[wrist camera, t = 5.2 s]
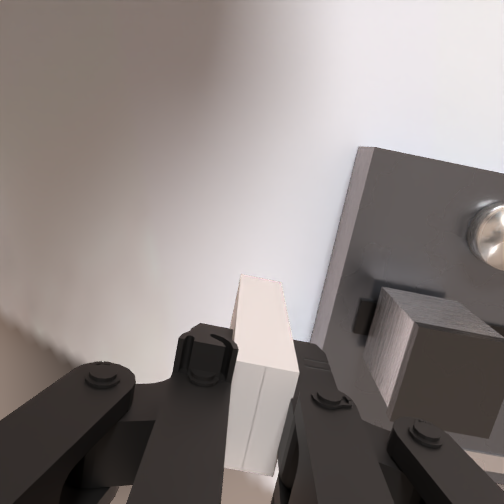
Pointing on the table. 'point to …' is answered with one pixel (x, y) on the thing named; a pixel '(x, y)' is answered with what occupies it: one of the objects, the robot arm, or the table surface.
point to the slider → (436, 362)
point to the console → (412, 266)
